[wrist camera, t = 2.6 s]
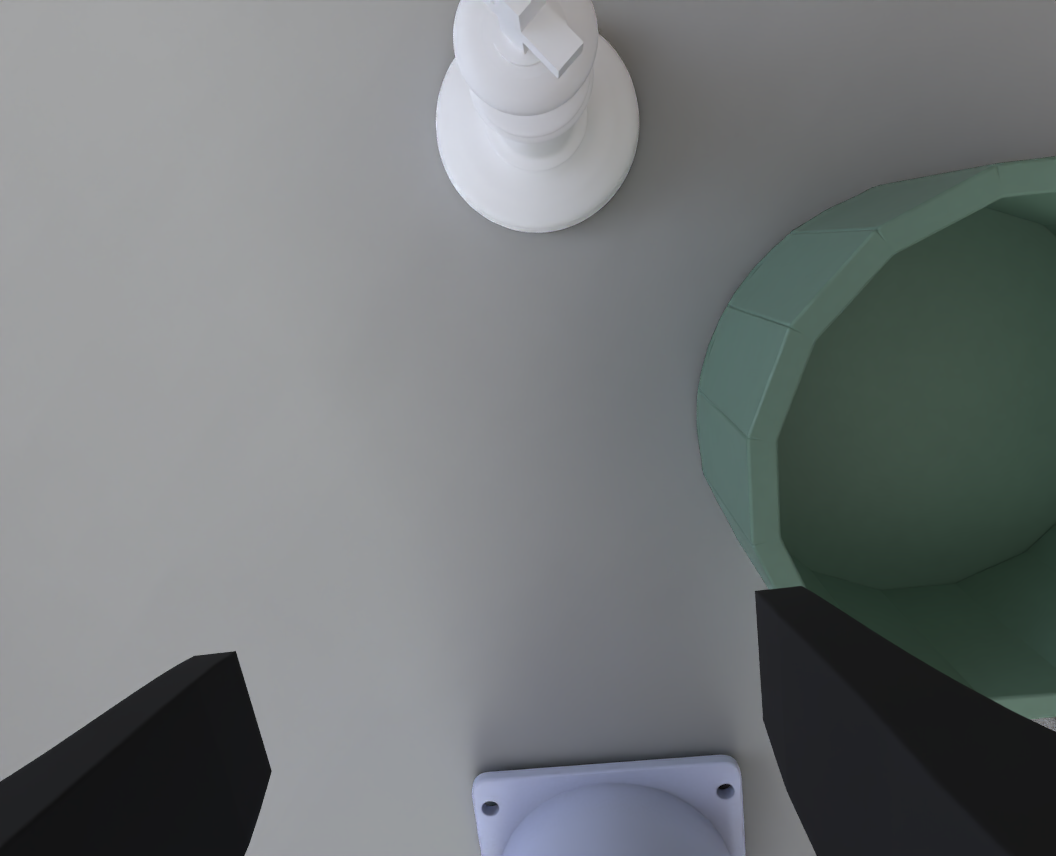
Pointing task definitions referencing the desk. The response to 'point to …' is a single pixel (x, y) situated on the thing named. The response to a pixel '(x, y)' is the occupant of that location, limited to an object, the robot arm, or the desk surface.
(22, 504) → the desk surface
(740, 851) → the robot arm
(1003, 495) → the tub
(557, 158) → the chess piece
